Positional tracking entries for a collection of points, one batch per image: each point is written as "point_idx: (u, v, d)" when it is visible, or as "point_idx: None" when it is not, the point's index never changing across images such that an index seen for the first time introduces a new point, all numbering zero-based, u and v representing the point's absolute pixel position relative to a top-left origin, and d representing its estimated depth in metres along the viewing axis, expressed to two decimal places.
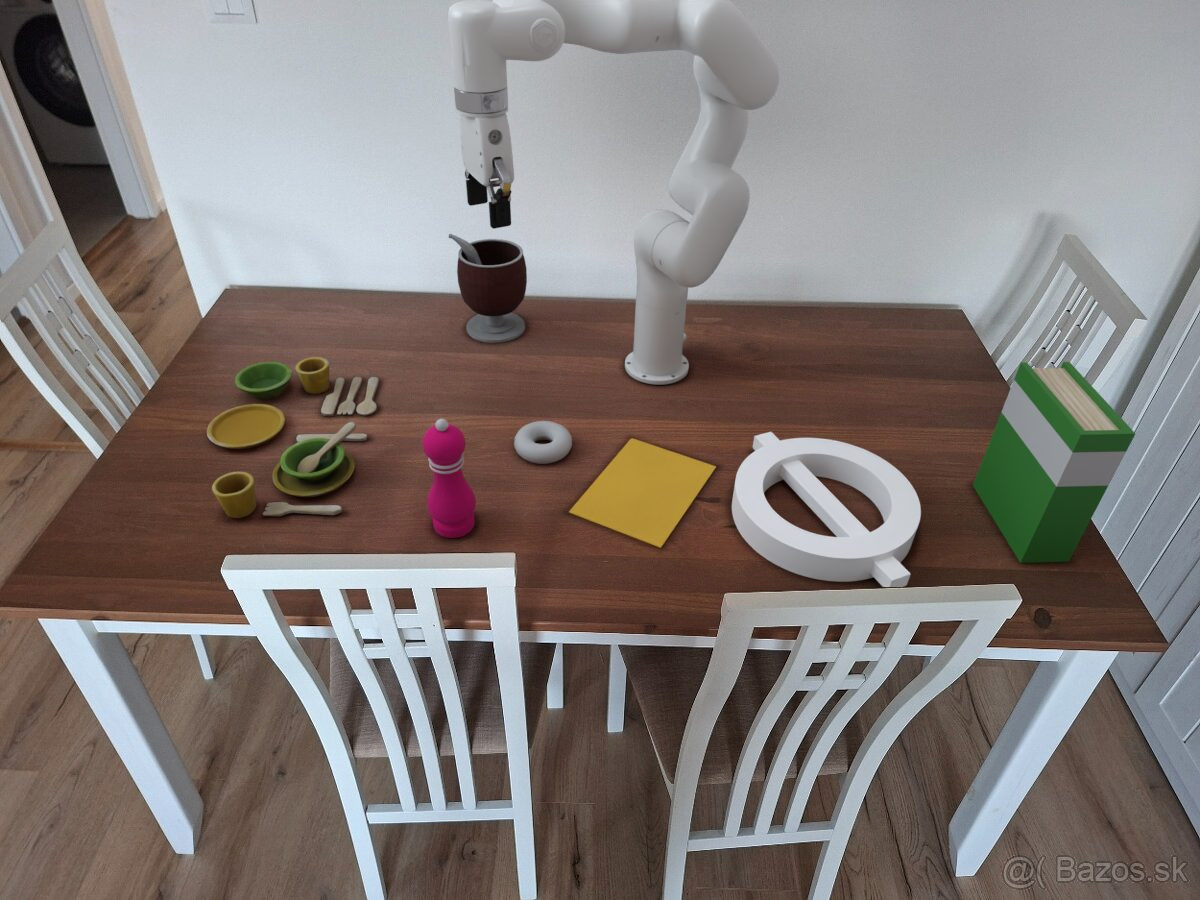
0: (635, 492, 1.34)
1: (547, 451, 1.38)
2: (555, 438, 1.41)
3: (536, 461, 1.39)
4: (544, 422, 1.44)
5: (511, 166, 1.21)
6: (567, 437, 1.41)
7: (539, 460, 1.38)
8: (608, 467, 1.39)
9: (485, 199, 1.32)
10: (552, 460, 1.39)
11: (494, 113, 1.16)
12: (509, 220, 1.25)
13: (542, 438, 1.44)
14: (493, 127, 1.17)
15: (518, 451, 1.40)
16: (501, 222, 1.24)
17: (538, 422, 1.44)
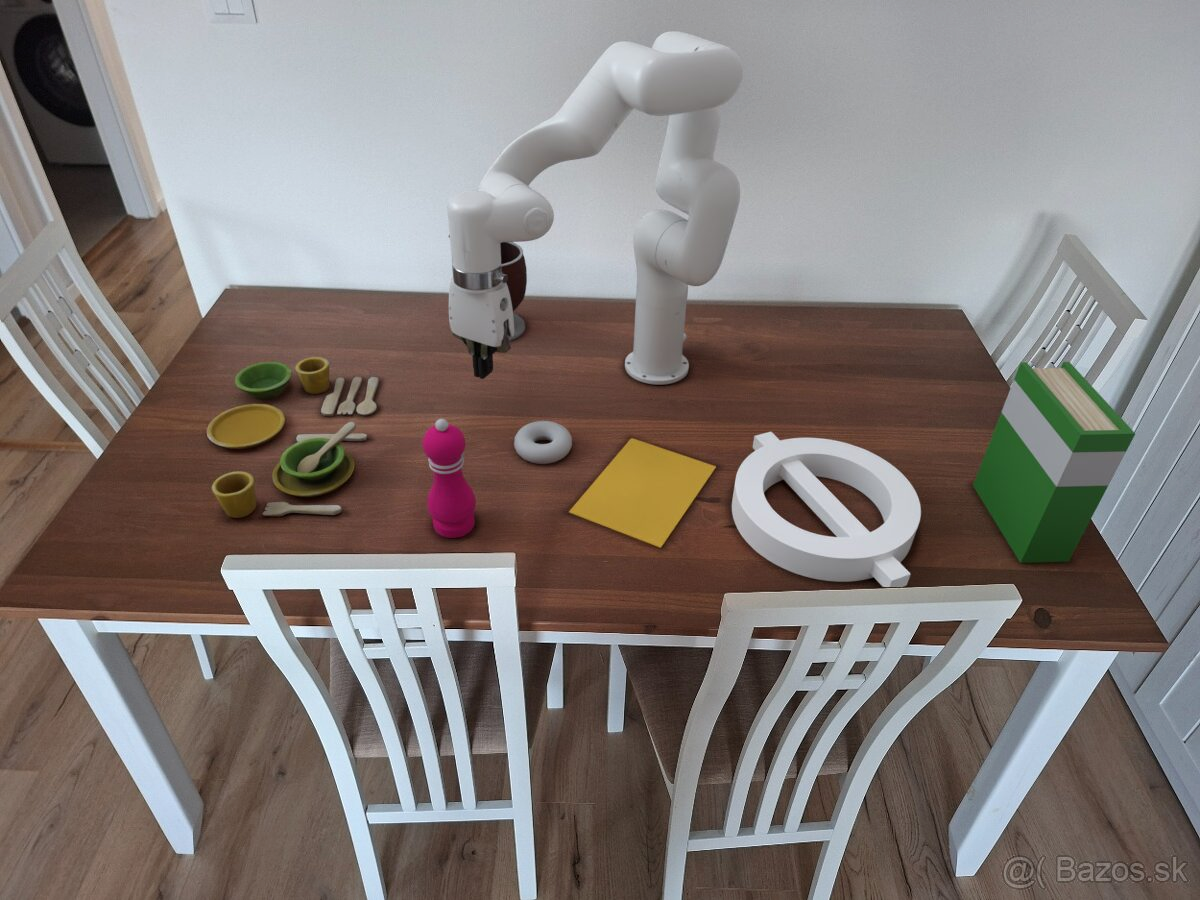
0: (635, 492, 1.34)
1: (547, 451, 1.38)
2: (555, 438, 1.41)
3: (536, 461, 1.39)
4: (544, 422, 1.44)
5: (513, 323, 1.33)
6: (567, 437, 1.41)
7: (539, 461, 1.38)
8: (608, 467, 1.39)
9: None
10: (552, 460, 1.39)
11: (499, 284, 1.28)
12: None
13: (542, 438, 1.44)
14: (502, 296, 1.28)
15: (518, 451, 1.40)
16: (489, 372, 1.38)
17: (538, 422, 1.44)
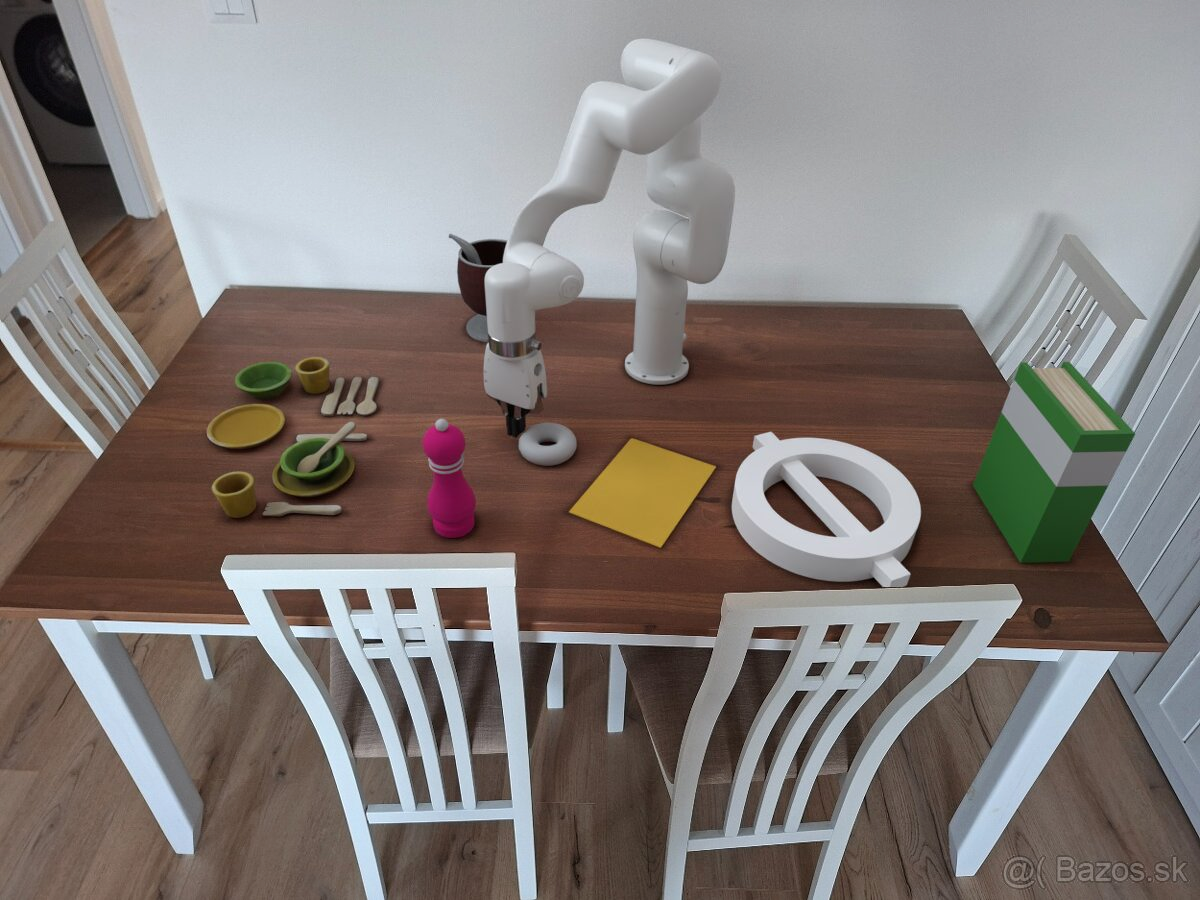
0: (635, 492, 1.34)
1: (552, 452, 1.38)
2: (560, 440, 1.41)
3: (541, 463, 1.38)
4: (548, 424, 1.43)
5: (546, 386, 1.37)
6: (572, 439, 1.41)
7: (544, 462, 1.38)
8: (608, 467, 1.39)
9: None
10: (557, 462, 1.38)
11: (533, 350, 1.32)
12: None
13: (546, 440, 1.44)
14: (536, 362, 1.32)
15: (523, 453, 1.39)
16: (522, 430, 1.42)
17: (542, 424, 1.43)
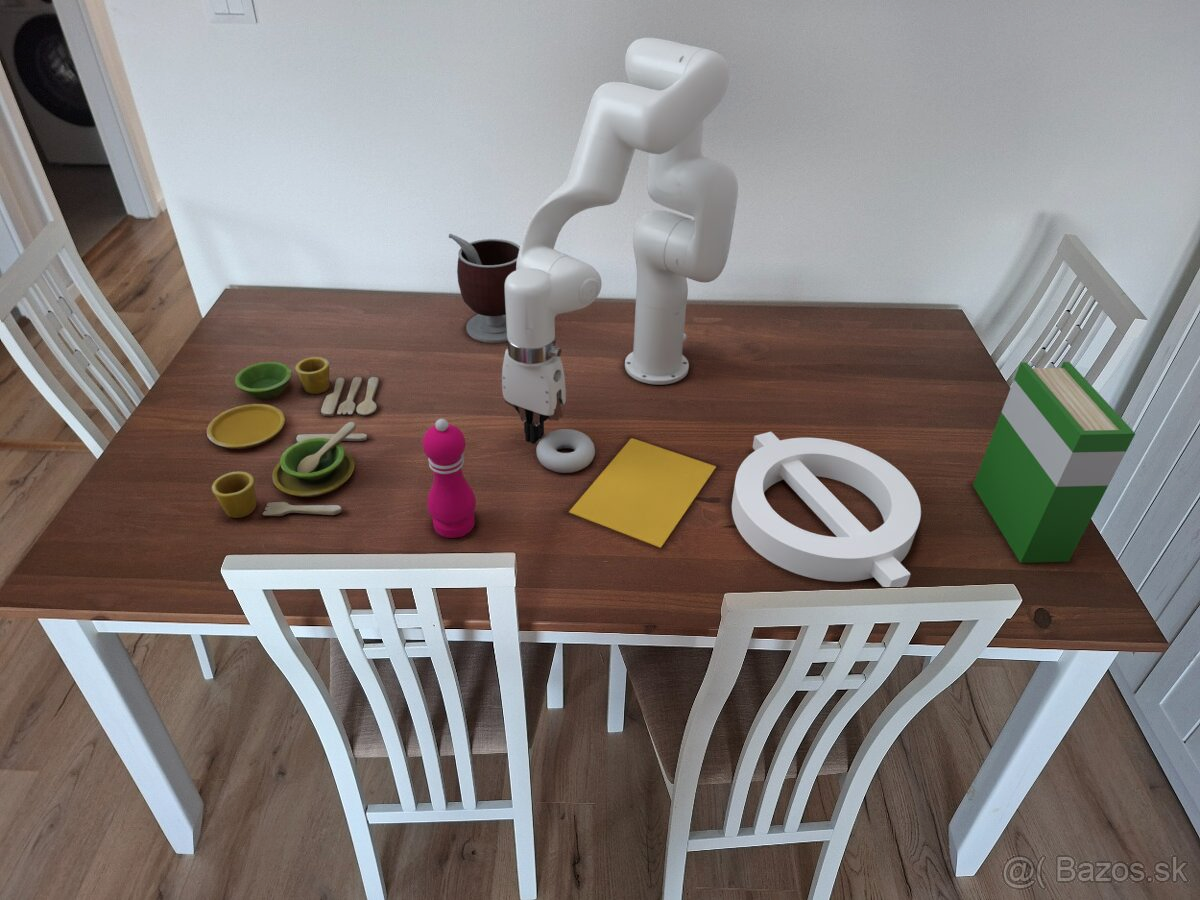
0: (635, 492, 1.34)
1: (572, 459, 1.36)
2: (578, 446, 1.39)
3: (561, 470, 1.37)
4: (565, 430, 1.42)
5: (565, 392, 1.36)
6: (591, 445, 1.40)
7: (564, 470, 1.37)
8: (608, 467, 1.39)
9: None
10: (577, 469, 1.37)
11: (553, 356, 1.31)
12: None
13: (564, 447, 1.42)
14: (556, 368, 1.31)
15: (542, 461, 1.38)
16: (540, 437, 1.41)
17: (559, 430, 1.42)
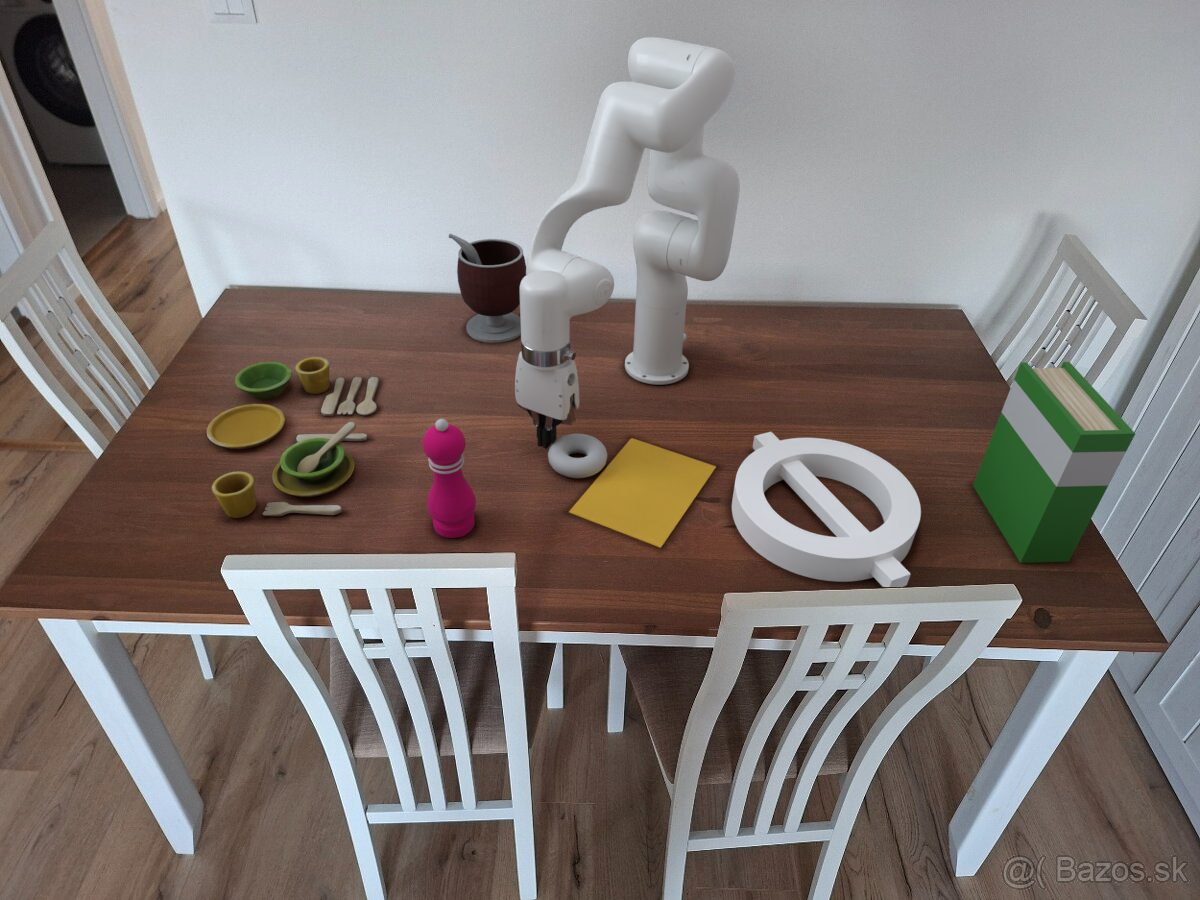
0: (635, 492, 1.34)
1: (586, 465, 1.35)
2: (591, 451, 1.38)
3: (574, 476, 1.35)
4: (576, 435, 1.41)
5: None
6: (603, 449, 1.38)
7: (577, 475, 1.35)
8: (608, 467, 1.39)
9: None
10: (590, 474, 1.36)
11: (567, 360, 1.29)
12: None
13: (575, 451, 1.41)
14: (570, 372, 1.30)
15: (554, 466, 1.36)
16: (553, 441, 1.40)
17: (570, 435, 1.41)
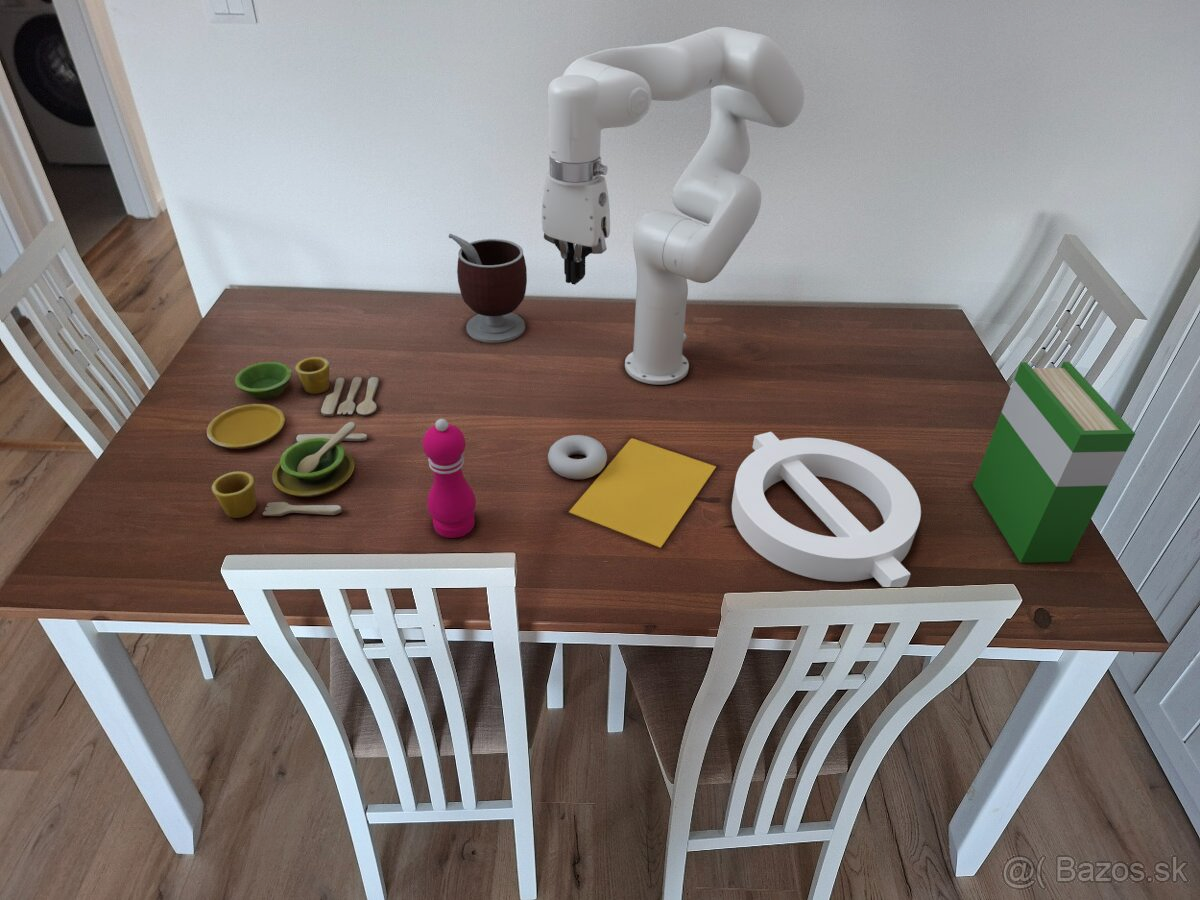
0: (635, 492, 1.34)
1: (585, 466, 1.35)
2: (590, 452, 1.38)
3: (574, 477, 1.36)
4: (576, 436, 1.41)
5: (609, 222, 1.27)
6: (603, 450, 1.38)
7: (577, 476, 1.35)
8: (608, 467, 1.39)
9: None
10: (590, 475, 1.36)
11: (598, 177, 1.22)
12: None
13: (575, 453, 1.41)
14: (601, 190, 1.22)
15: (554, 468, 1.37)
16: (582, 277, 1.33)
17: (570, 437, 1.41)
